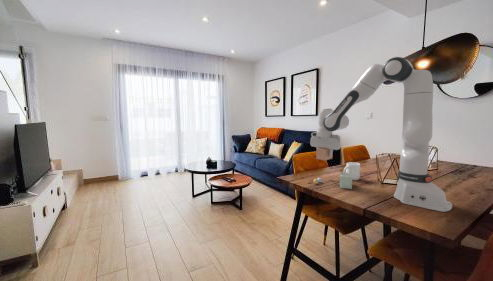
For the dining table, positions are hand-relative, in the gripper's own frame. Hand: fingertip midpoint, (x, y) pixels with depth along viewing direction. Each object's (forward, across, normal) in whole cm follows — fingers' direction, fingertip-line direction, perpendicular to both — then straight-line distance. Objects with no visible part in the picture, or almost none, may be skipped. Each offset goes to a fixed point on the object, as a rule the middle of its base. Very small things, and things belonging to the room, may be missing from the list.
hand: (324, 154), depth 142 cm
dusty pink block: (+3, 0, 0) cm, 3 cm away
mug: (+17, -11, -14) cm, 25 cm away
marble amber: (+17, -2, +12) cm, 21 cm away
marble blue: (+17, -2, +8) cm, 19 cm away
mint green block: (+17, -16, +2) cm, 23 cm away
